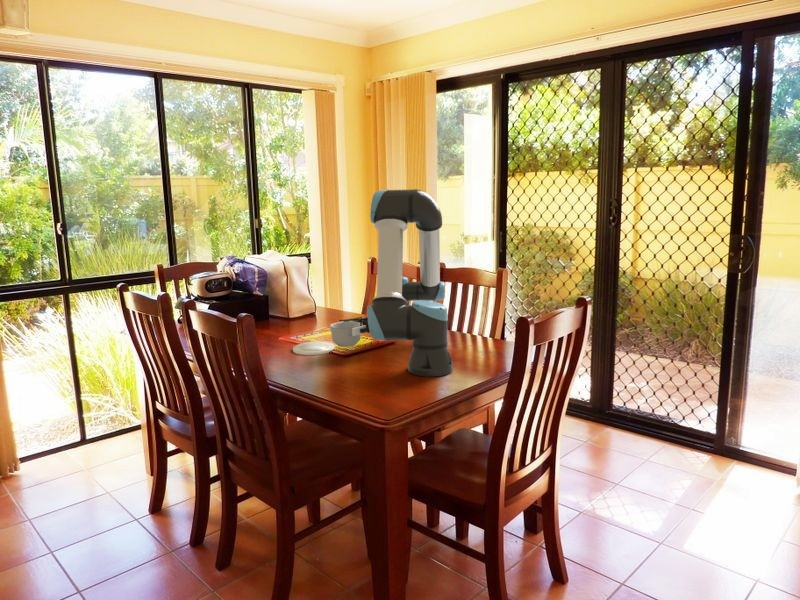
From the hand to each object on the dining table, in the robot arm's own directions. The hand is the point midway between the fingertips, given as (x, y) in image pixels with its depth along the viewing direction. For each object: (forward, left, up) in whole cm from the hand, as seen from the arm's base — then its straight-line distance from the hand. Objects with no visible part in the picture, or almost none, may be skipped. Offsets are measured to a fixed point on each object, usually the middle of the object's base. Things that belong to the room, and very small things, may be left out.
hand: (341, 330), depth 214 cm
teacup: (+2, -3, -6) cm, 7 cm away
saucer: (+17, +4, -11) cm, 21 cm away
